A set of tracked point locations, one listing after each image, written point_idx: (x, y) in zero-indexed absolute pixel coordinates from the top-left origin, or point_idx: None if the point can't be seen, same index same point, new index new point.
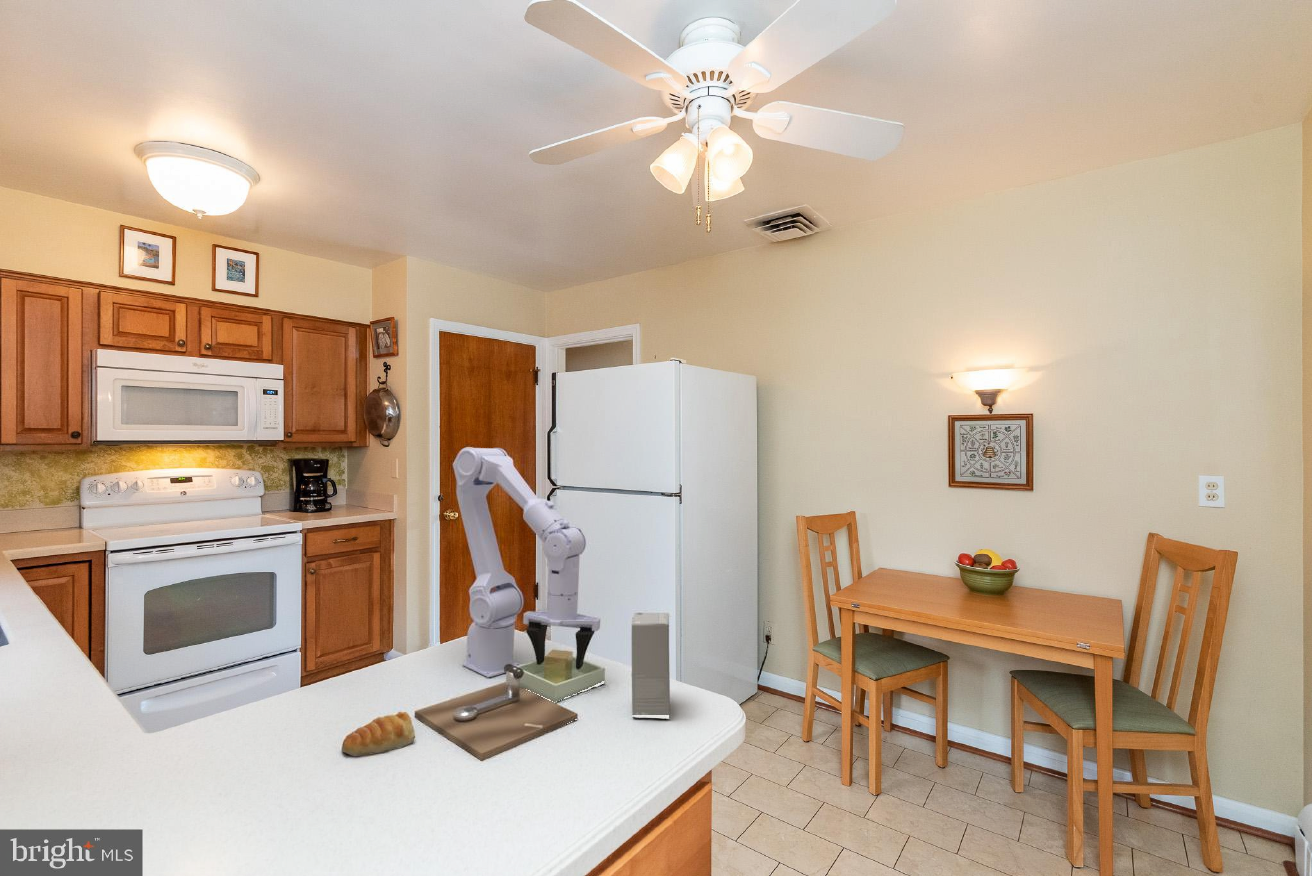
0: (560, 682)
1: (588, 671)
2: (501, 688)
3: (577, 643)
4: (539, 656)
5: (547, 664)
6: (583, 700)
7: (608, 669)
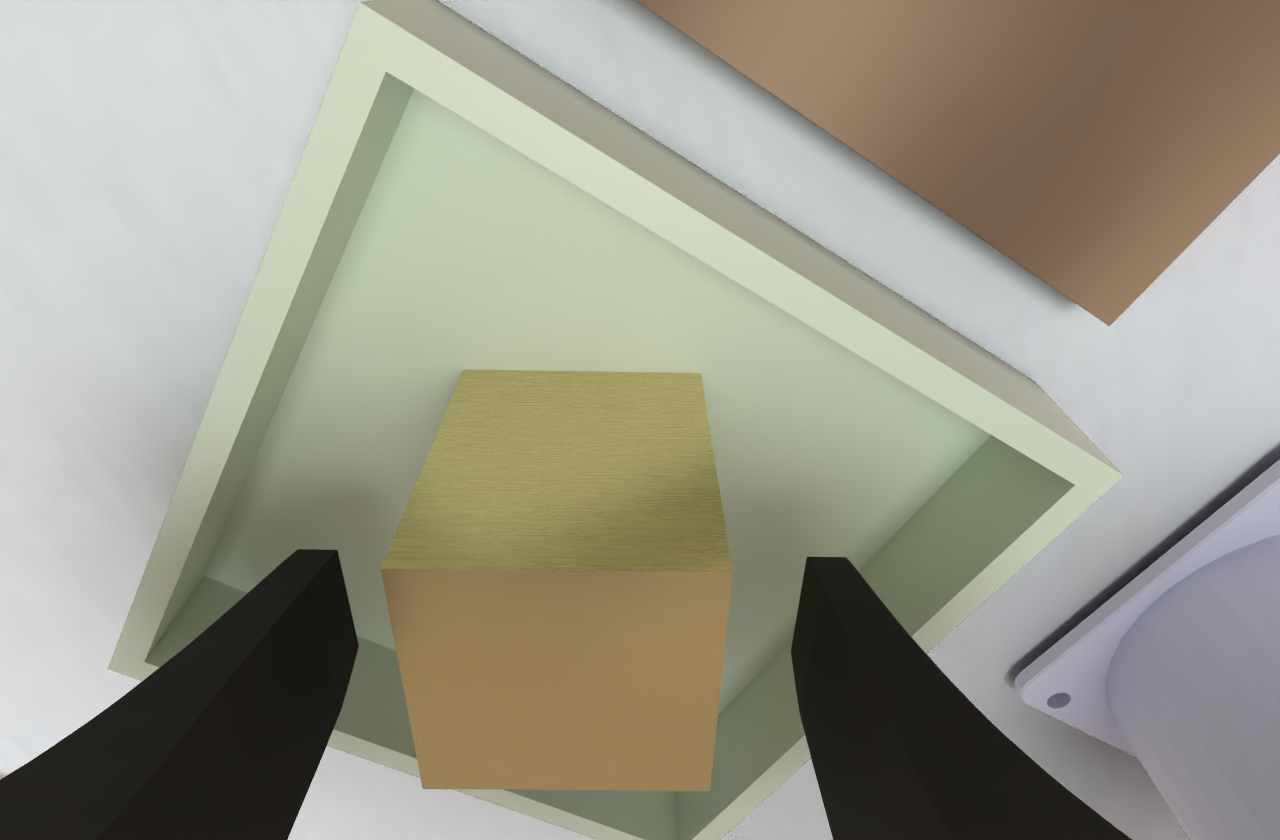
0: (506, 384)
1: (359, 665)
2: (1170, 94)
3: (70, 832)
4: (840, 618)
5: (679, 499)
6: (165, 170)
7: (322, 786)
